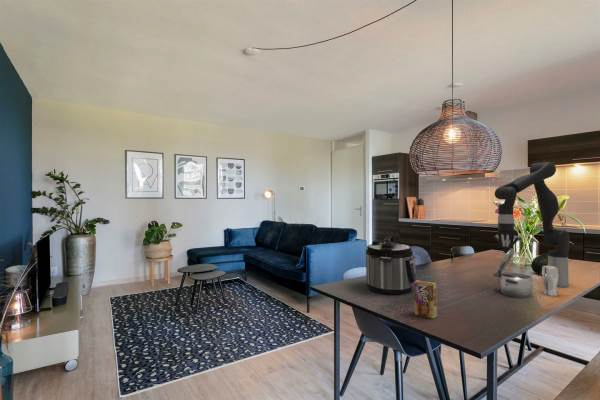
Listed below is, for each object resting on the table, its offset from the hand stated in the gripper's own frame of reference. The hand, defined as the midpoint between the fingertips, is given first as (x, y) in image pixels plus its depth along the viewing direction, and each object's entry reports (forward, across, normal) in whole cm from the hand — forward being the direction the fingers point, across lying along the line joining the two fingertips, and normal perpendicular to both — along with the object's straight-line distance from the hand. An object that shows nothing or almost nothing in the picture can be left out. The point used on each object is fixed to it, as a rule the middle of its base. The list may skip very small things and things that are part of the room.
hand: (506, 253), depth 172 cm
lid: (+5, 0, 0) cm, 5 cm away
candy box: (+22, +16, +65) cm, 71 cm away
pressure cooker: (+22, +50, +39) cm, 67 cm away
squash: (+22, -6, -63) cm, 67 cm away
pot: (+22, -3, 0) cm, 22 cm away
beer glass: (+22, -17, -11) cm, 30 cm away
